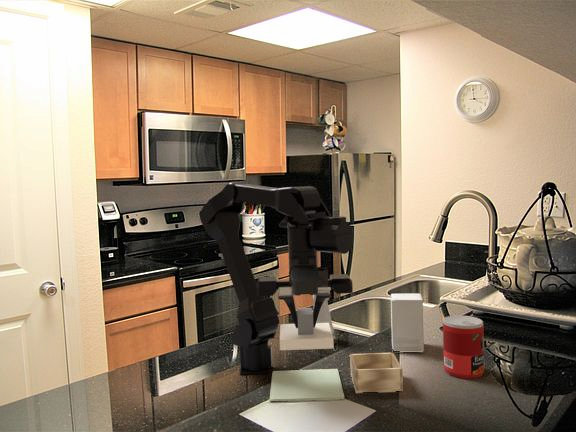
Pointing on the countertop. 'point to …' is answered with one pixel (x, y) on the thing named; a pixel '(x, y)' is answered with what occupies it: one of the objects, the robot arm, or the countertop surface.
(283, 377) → the mat
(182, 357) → the countertop surface
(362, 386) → the box
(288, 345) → the lid
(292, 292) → the robot arm
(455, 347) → the canned food
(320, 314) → the salt shaker
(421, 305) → the supplement box
